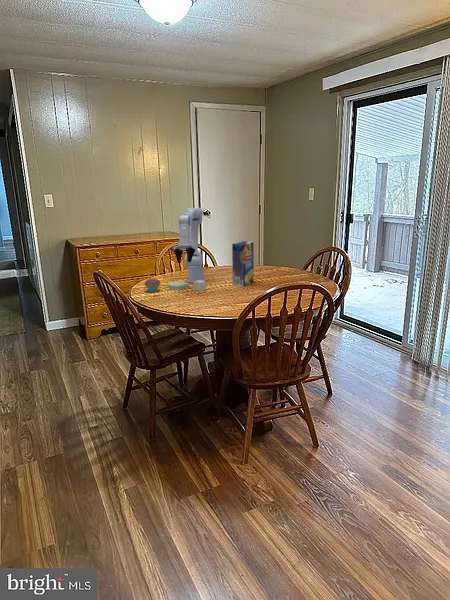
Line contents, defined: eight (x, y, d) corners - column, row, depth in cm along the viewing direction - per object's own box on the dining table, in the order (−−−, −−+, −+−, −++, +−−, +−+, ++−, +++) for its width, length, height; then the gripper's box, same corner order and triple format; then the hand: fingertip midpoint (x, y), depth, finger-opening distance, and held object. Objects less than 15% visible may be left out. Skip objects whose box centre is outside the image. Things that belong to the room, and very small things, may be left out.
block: (199, 288, 232) (199, 279, 230) (206, 289, 229) (205, 281, 227) (193, 290, 228) (193, 281, 226) (200, 291, 225) (199, 282, 223)
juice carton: (244, 286, 233) (243, 244, 226) (232, 285, 237) (232, 244, 230) (253, 282, 243) (253, 241, 236) (242, 280, 246) (242, 241, 240)
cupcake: (145, 293, 222) (144, 272, 219) (144, 289, 230) (142, 269, 227) (161, 292, 224) (160, 271, 221) (159, 288, 232) (158, 268, 229)
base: (178, 284, 240) (178, 281, 240) (189, 286, 235) (189, 283, 234) (167, 287, 234) (166, 284, 233) (178, 290, 228) (178, 286, 228)
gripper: (169, 237, 220) (169, 262, 220) (189, 234, 211) (188, 260, 211) (179, 239, 226) (178, 263, 225) (198, 236, 217) (197, 262, 216)
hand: (184, 262), depth 219 cm, fingers open, 7 cm apart
